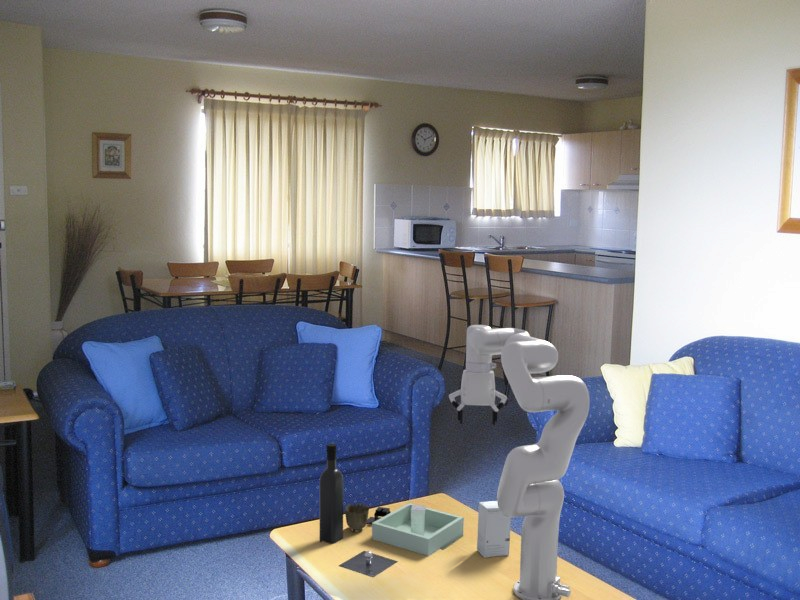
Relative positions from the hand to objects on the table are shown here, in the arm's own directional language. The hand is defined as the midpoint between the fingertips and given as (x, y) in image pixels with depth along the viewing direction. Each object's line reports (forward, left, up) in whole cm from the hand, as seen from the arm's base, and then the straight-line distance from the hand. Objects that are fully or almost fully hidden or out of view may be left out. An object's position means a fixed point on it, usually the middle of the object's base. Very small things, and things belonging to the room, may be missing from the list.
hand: (477, 423), depth 245 cm
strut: (+14, +10, -35) cm, 39 cm away
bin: (+14, +10, -36) cm, 40 cm away
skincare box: (-9, +5, -36) cm, 38 cm away
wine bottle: (+34, +27, -36) cm, 57 cm away
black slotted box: (+30, +6, -37) cm, 48 cm away
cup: (+32, +17, -36) cm, 51 cm away
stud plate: (+15, +34, -36) cm, 52 cm away
